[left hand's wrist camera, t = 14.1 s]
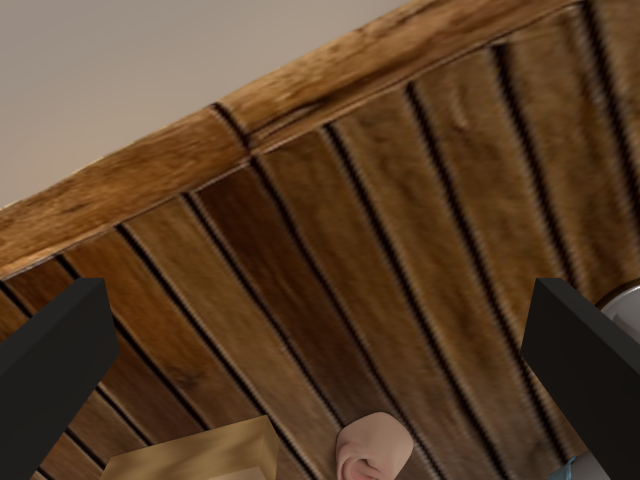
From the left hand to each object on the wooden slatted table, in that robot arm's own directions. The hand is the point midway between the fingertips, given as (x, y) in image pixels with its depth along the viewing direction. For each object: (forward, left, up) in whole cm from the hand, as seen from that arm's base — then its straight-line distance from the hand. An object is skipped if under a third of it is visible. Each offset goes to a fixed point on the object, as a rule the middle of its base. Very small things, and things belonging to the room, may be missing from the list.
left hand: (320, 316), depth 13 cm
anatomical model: (-40, +15, -32) cm, 53 cm away
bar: (-27, +36, -32) cm, 56 cm away
